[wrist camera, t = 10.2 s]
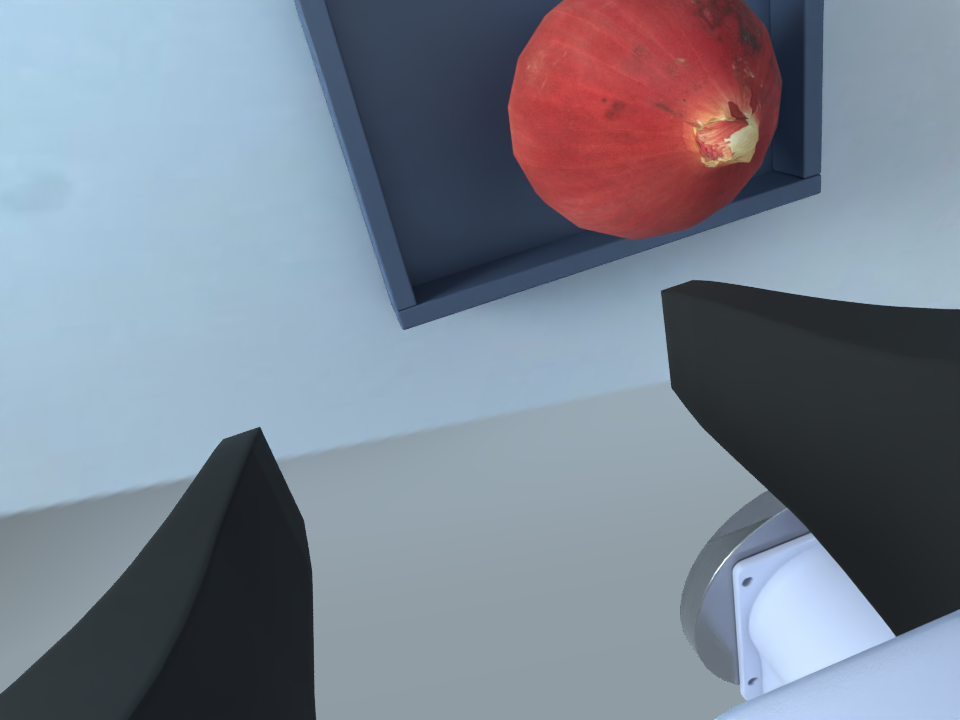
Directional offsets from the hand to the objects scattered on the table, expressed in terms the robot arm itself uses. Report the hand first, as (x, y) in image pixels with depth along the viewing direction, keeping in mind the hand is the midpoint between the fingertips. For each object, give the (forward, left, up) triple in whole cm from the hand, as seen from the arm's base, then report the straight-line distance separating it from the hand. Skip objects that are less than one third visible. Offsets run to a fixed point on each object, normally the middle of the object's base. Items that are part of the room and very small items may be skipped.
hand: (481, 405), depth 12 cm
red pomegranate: (+3, -6, -9) cm, 11 cm away
